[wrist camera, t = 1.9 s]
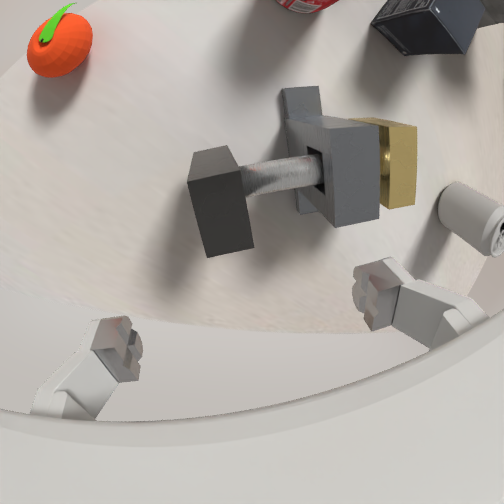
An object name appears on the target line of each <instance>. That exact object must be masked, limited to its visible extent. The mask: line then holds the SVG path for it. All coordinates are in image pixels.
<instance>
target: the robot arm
mask: <svg viewBox="0 0 504 504" xmlns="http://www.w3.org/2000/svg"><path fill="white" fill-rule="evenodd" d="M353 277H354V278H355V280H356V282H355V284H354V285H353V287H352V295H353V301H354V303H355V306H356V308H357V309H358V311H360V312H362V313H364V320H365V322H366V323H367V325H368V327H369V328H370V330H371V331H375V330H378V329H381V328H384V327H387V326H390V325H392V326H393V327H394V328H396V329H398V330H399V331H401V332H403V333H405V334H406V335H408V336H410V337H411V338H413V339H415V340H416V341H418V342H420V343H421V344H423V345H425V346H426V347H428V348H430V349H429V351H428V352H427V353H425V354H423V355H420V356H418V357H416V358H414V359H412V360H409V361H407V362H405V363H402V364H400V365H398V366H395V367H393V368H391V369H388V370H386V371H383V372H380V373H378V374H375V375H372V376H370V377H367V378H364V379H362V380H359V381H356V382H353V383H350V384H347V385H344V386H341V387H338V388H335V389H331V390H328V391H325V392H321V393H318V394H314V395H311V396H308V397H303V398H300V399H296V400H292V401H288V402H284V403H279V404H275V405H271V406H265V407H261V408H256V409H250V410H245V411H239V412H233V413H227V414H220V415H213V416H205V417H196V418H187V419H175V420H161V421H136V422H110V421H96V420H95V418H96V417H97V415H98V414H99V412H100V411H101V409H102V408H103V406H104V405H105V403H106V402H107V400H108V399H109V397H110V396H111V394H112V393H113V391H114V390H115V388H116V387H117V386H118V383H120V382H130V381H138V379H139V373H140V365H139V363H138V361H139V359H140V358H141V357H142V353H143V347H142V341H141V339H140V336H139V335H138V333H137V332H136V331H134V330H133V329H131V326H132V323H131V321H130V319H129V317H127V316H119V317H111V318H103V319H97V320H92V321H90V322H89V324H88V327H87V330H86V332H85V335H84V337H83V340H82V343H81V345H80V348H79V351H78V352H74V353H73V354H72V355H71V356H70V357H69V358H68V359H67V360H66V361H65V362H64V363H63V364H62V365H61V366H60V367H59V368H58V369H57V370H56V371H55V372H54V373H53V374H52V375H51V376H50V377H49V378H48V380H46V381H45V382H44V383H43V384H42V386H40V388H39V389H38V390H37V393H36V396H35V399H34V402H33V405H32V409H31V412H30V414H24V413H18V412H13V411H8V410H3V409H0V504H504V309H503V310H502V311H500V312H498V313H497V314H495V315H494V316H492V317H491V318H490V317H489V316H488V315H487V314H486V313H485V312H484V311H483V310H482V309H481V308H480V307H479V306H478V304H477V303H476V302H475V301H474V300H473V299H472V298H470V297H467V296H464V295H462V294H459V293H456V292H453V291H451V290H448V289H445V288H442V287H440V286H437V285H434V284H431V283H428V282H426V281H423V280H420V279H418V280H415V279H414V278H413V277H412V276H411V275H410V274H409V273H408V272H407V271H406V270H405V269H404V268H403V267H402V266H401V265H400V264H399V263H398V262H397V261H396V260H395V259H394V258H393V257H387V258H384V259H381V260H379V261H375V262H371V263H368V264H364V265H360V266H356V267H355V268H354V271H353Z"/></svg>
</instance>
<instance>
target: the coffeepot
mask: <svg viewBox="0 0 504 504" xmlns="http://www.w3.org/2000/svg"><path fill="white" fill-rule="evenodd" d="M480 2H481V3H482V5H483V6H484V8H485V10H484V13H483V15H482V17H481V20H480V22H479V24H478V27H477V28H481V27H485V26H489V25H494V24H498V23H504V0H480Z"/></svg>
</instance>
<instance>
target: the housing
mask: <svg viewBox="0 0 504 504" xmlns="http://www.w3.org/2000/svg"><path fill="white" fill-rule="evenodd" d="M282 94H283V101H284V107H285V114H286V118H284V120H285V128H286V135H287V142H288V150H289V158H291V157H297V156H304V155H311V154H319V153H322V156H323V168H324V182H325V183H322V184H316V185H310V186H305V187H299V188H295V195H296V205H297V211H298V213H299V214H300V215H301V214H306V213H311V212H317V211H319V212H320V213H321V214H322V215H323V216H324V217H325V218H326V219H327V220H328V221H329V222H330V223H331V224H332V225H333V226H334V227H335V228H337V227H342V226H347V225H351V224H356V223H361V222H366V221H370V220H375V219H379V205H380V146H379V126H378V125H373V124H369V123H364V122H359V121H354V120H348V119H343V118H337V117H331V116H324V115H322V109H321V101H320V93H319V86H309V87H294V88H284V89H282Z"/></svg>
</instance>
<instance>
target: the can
mask: <svg viewBox="0 0 504 504" xmlns="http://www.w3.org/2000/svg"><path fill="white" fill-rule="evenodd" d="M438 215H439V219H440V222H441V223H442V224H443V225H444V226H445V227H447V228H448V229H450V230H451V231H452V232H454V233H455V234H457V235H458V236H459V237H461V238H462V239H463V240H465V241H466V242H467V243H469V244H470V245H471V246H473V247H474V248H475V249H476V250H478V251H479V252H480V253H481V254H483V255H484V256H489V255H492V257H497V256H500V255H501V254H502V253H503V252H504V206H503V205H501V204H500V203H498V202H496V201H494V200H493V199H491V198H489V197H487V196H486V195H484V194H482V193H480V192H478V191H476V190H475V189H473V188H471V187H469V186H467V185H465V184H463V183H461V182H454V183H452V184H450V185H449V186H448V187H447V188H446V189H445V190H444V191H443V193H442V194H441V196H440V199H439V204H438Z"/></svg>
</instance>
